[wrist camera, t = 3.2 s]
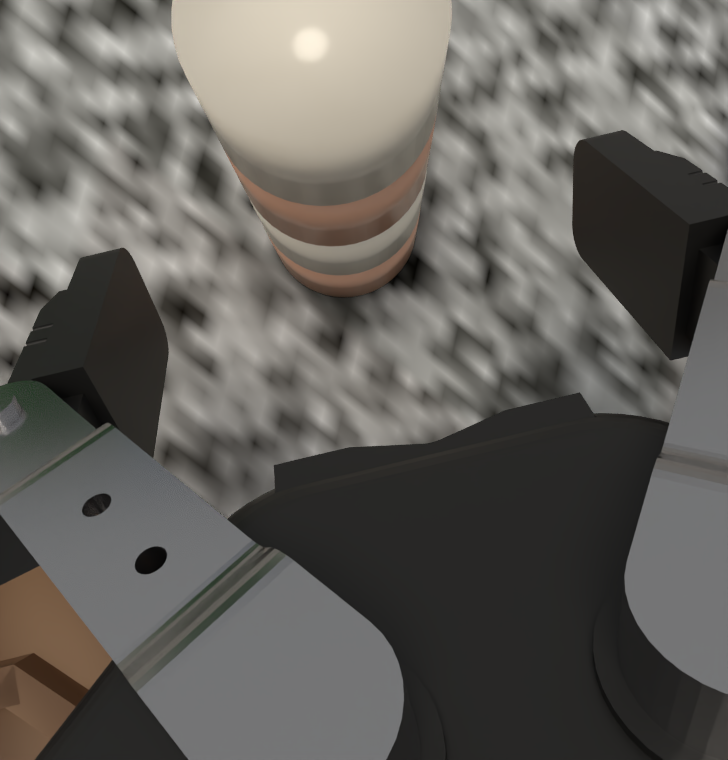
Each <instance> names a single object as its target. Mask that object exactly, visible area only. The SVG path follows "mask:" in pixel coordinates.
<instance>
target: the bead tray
mask: <svg viewBox="0 0 728 760" xmlns="http://www.w3.org/2000/svg"><path fill="white" fill-rule="evenodd" d="M111 661H112V658H111V657H110V656H109V654H108V653H107V652H106V650H105V649H104V648H103V647H102V645H101V644H100V643H99V641H98V640H97V639H96V638H95V636H94V635H93V634H92V632H91V631H90V630H89V629H88V627H87V626H86V625H85V623H84V622H83V621H82V619H81V618H80V617H79V616H78V614H77V613H76V612H75V610H74V609H73V608H72V607H71V605H70V604H69V603H68V601H67V600H66V599H65V597H64V596H63V595H62V594H61V592H60V591H59V590H58V588H57V587H56V586H55V585H54V583H53V582H52V581H51V579H50V578H49V577H48V576H47V574H46V573H45V572H44V570H43V569H42V568H41V566H38V567H36V568H34V569H32V570H30V571H28V572H26V573H24V574H22V575H20V576H18V577H16V578H14V579H12V580H10V581H8V582H6V583H4V584H2V585H0V760H35V759H36V757H37V756H38V755H39V753H40V752H41V751H42V750H43V748H44V747H45V746H46V744H47V743H48V742H49V741H50V739H51V738H52V737H53V735H54V734H55V733H56V732H57V730H58V729H59V728H60V726H61V725H62V724H63V723H64V721H65V720H66V719H67V717H68V716H69V715H70V714H71V712H72V711H73V710H74V708H75V707H76V706H77V704H78V703H79V702H80V701H81V699H82V698H83V697H84V695H85V694H86V693H87V692H88V690H89V689H90V688H91V686H92V685H93V684H94V683H95V681H96V680H97V679H98V677H99V676H100V675H101V674H102V672H103V671H104V670H105V668H106V667H107V666H108V665H109V663H110V662H111Z"/></svg>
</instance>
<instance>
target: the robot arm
mask: <svg viewBox="0 0 728 760" xmlns="http://www.w3.org/2000/svg"><path fill="white" fill-rule="evenodd" d="M572 227H573V236H574V241H575V244H576V247H577V250H578V252H579V254H580V256H581V258H582V259H583V260H584V261H585V262H586V264H587V265H588V266H589V267H590V268H591V269H592V270H593V272H594V273H595V274H596V275H597V276H598V277H599V279H600V280H601V281H602V282H603V283H604V284H605V285H606V287H607V288H608V289H609V290H610V291H611V292H612V294H613V295H614V296H615V297H616V298H617V299H618V300H619V302H620V303H621V304H622V305H623V306H624V307H625V309H626V310H627V311H628V312H629V313H630V314H631V315H632V317H633V318H634V319H635V320H636V321H637V322H638V324H639V325H640V326H641V327H642V328H643V329H644V331H645V332H646V333H647V334H648V335H649V336H650V337H651V339H652V340H653V341H654V342H655V343H656V344H657V346H658V347H659V348H660V349H661V350H662V351H663V352H664V354H665V355H666V356H667V357H668V358H669V359H670V360H674V359H679V358H683V357H687V356H688V359H687V363H686V366H685V370H684V373H683V377H682V380H681V384H680V388H679V391H678V395H677V398H676V402H675V405H674V409H673V413H672V416H671V420H670V423H667V422H664V421H661V420H656V419H651V418H646V417H642V416H634V415H626V414H609V413H596V414H593V412H592V411H591V409H590V408H589V406H588V404H587V403H586V401H585V400H584V398H583V397H582V395H581V394H580V393H576V394H572V395H568V396H564V397H559V398H555V399H551V400H547V401H543V402H538V403H534V404H530V405H526V406H522V407H517V408H513V409H509V410H505V411H503V412H500V413H498V414H496V415H494V416H492V417H489V418H487V419H485V420H483V421H481V422H478V423H476V424H474V425H472V426H469V427H467V428H465V429H463V430H461V431H458V432H456V433H454V434H452V435H450V436H447V437H445V438H443V439H441V440H438V441H436V442H432V443H428V444H412V445H391V446H369V447H349V448H345V449H340V450H336V451H332V452H328V453H324V454H319V455H315V456H311V457H307V458H303V459H298V460H294V461H290V462H286V463H282V464H277V465H274V475H275V489H274V490H271V491H269V492H267V493H265V494H263V495H262V496H260V497H258V498H256V499H255V500H253V501H251V502H249V503H248V504H246V505H245V506H244V507H242V508H241V509H239V510H238V511H236V512H235V513H234V514H232V515H231V516H230V517H229V518H228V519H226V518H225V517H224V516H222V515H221V514H220V513H219V512H217V511H216V510H215V509H214V508H213V507H211V506H210V505H209V504H208V503H207V502H205V501H204V500H203V499H202V498H200V497H199V496H198V495H197V494H196V493H194V492H193V491H192V490H191V489H190V488H188V487H187V486H186V485H185V484H183V483H182V482H181V481H180V480H179V479H177V478H176V477H175V476H174V475H173V474H171V473H170V472H169V471H168V470H166V469H165V468H164V467H163V466H162V465H160V464H159V463H158V462H157V461H156V460H154V459H153V456H154V449H155V443H156V436H157V429H158V422H159V416H160V409H161V402H162V395H163V388H164V382H165V375H166V368H167V361H168V353H169V352H168V342H167V337H166V333H165V329H164V326H163V324H162V321H161V319H160V317H159V315H158V312H157V310H156V308H155V306H154V304H153V301H152V299H151V297H150V295H149V293H148V290H147V288H146V286H145V284H144V282H143V279H142V277H141V275H140V273H139V270H138V268H137V266H136V264H135V262H134V260H133V258H132V256H131V255H130V253H129V252H128V251H127V250H126V249H125V248H120V249H115V250H111V251H107V252H103V253H98V254H94V255H90V256H86V257H82V258H80V260H79V262H78V264H77V267H76V269H75V272H74V274H73V277H72V279H71V281H70V284H69V286H68V289H67V290H63V291H59V292H58V293H57V294H56V295H55V296H54V297H53V298H52V299H51V300H50V301H49V302H48V303H47V304H46V305H45V306H44V307H43V308H42V309H41V310H40V312H39V315H38V317H37V319H36V321H35V323H34V326H33V331H31V332H30V335H29V337H28V339H27V341H26V345H27V346H25V347H24V348H23V350H22V352H21V355H20V357H19V359H18V361H17V364H16V366H15V368H14V370H13V372H12V375H11V377H10V379H9V381H8V384H5V385H2V386H0V585H2V584H4V583H6V582H8V581H10V580H12V579H14V578H16V577H18V576H20V575H22V574H24V573H26V572H28V571H30V570H32V569H34V568H36V567H38V566H41V568H42V569H43V570H44V572H45V573H46V574H47V576H48V577H49V578H50V579H51V581H52V582H53V583H54V585H55V586H56V587H57V588H58V590H59V591H60V592H61V594H62V595H63V596H64V597H65V599H66V600H67V601H68V603H69V604H70V605H71V607H72V608H73V609H74V610H75V612H76V613H77V614H78V616H79V617H80V618H81V619H82V621H83V622H84V623H85V625H86V626H87V627H88V629H89V630H90V631H91V632H92V634H93V635H94V636H95V638H96V639H97V640H98V641H99V643H100V644H101V645H102V647H103V648H104V649H105V650H106V652H107V653H108V654H109V656H110V657H111V658H112V661H111V662H110V663H109V665H108V666H107V667H106V668H105V670H104V671H103V672H102V674H101V675H100V676H99V677H98V679H97V680H96V681H95V683H94V684H93V685H92V686H91V688H90V689H89V690H88V692H87V693H86V694H85V695H84V697H83V698H82V699H81V701H80V702H79V703H78V704H77V706H76V707H75V708H74V710H73V711H72V712H71V714H70V715H69V716H68V717H67V719H66V720H65V721H64V723H63V724H62V725H61V726H60V728H59V729H58V730H57V732H56V733H55V734H54V735H53V737H52V738H51V739H50V741H49V742H48V743H47V744H46V746H45V747H44V748H43V750H42V751H41V752H40V753H39V755H38V756H37V757H36V759H35V760H728V187H727V186H725V185H724V184H722V183H717V180H716V179H715V178H713V177H712V176H710V175H709V174H707V173H702V170H701V169H700V168H698V167H697V166H695V165H694V164H692V163H691V162H689V161H688V160H686V159H684V158H681V157H678V156H674V155H670V154H667V153H663V152H660V151H653V150H652V149H651V148H649V147H648V146H646V145H645V144H643V143H642V142H640V141H639V140H638V139H636V138H635V137H633V136H632V135H630V134H629V133H627V132H626V131H623V130H621V131H617V132H613V133H609V134H604V135H600V136H596V137H592V138H588V139H583V140H580V141H579V142H578V143H577V145H576V147H575V151H574V164H573V218H572Z"/></svg>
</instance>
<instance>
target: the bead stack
mask: <svg viewBox="0 0 728 760" xmlns="http://www.w3.org/2000/svg"><path fill="white" fill-rule="evenodd" d="M171 11H172V33H173V40H174V45H175V49H176V52H177V55H178V59H179V62H180V64H181V66H182V68H183V70H184V73H185V75H186V77H187V79H188V81H189V83H190V85H191V87H192V88H193V90H194V92H195V94H196V96H197V98H198V100H199V102H200V104H201V106H202V108H203V110H204V112H205V114H206V116H207V118H208V120H209V121H210V123H211V125H212V127H213V129H214V131H215V133H216V135H217V137H218V139H219V141H220V143H221V145H222V147H223V149H224V151H225V152H226V154H227V156H228V158H229V160H230V162H231V164H232V166H233V168H234V170H235V172H236V174H237V176H238V178H239V180H240V182H241V184H242V185H243V187H244V189H245V191H246V193H247V195H248V197H249V199H250V201H251V203H252V205H253V207H254V209H255V211H256V213H257V215H258V217H259V218H260V220H261V222H262V224H263V226H264V228H265V230H266V232H267V234H268V236H269V238H270V240H271V242H272V244H273V246H274V248H275V250H276V251H277V253H278V255H279V257H280V259H281V261H282V263H283V264H284V266H285V267H286V269H287V270H288V271H289V272H290V274H291V275H292V276H293V277H294V278H295V279H296V280H298V281H299V282H300V283H301V284H303V285H304V286H306V287H307V288H309V289H311V290H313V291H315V292H318V293H321V294H324V295H328V296H333V297H354V296H360V295H364V294H367V293H370V292H373V291H375V290H377V289H379V288H381V287H382V286H384V285H385V284H387V283H388V282H390V281H391V280H392V279H393V278H394V277H395V276H396V275H397V274H398V273H399V272H400V271H401V270H402V268H403V267H404V265H405V264H406V263H407V261H408V259H409V257H410V255H411V252H412V250H413V247H414V243H415V238H416V233H417V227H418V221H419V215H420V209H421V203H422V197H423V191H424V185H425V179H426V173H427V167H428V161H429V155H430V149H431V143H432V137H433V131H434V125H435V119H436V113H437V107H438V101H439V95H440V90H441V84H442V78H443V72H444V66H445V60H446V54H447V48H448V42H449V36H450V30H451V18H452V5H451V0H173V3H172V10H171Z"/></svg>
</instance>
